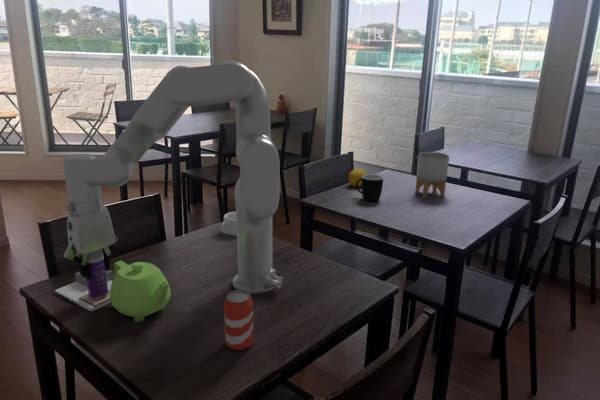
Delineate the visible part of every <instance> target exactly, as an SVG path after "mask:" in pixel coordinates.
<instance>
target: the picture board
mask: <svg viewBox="0 0 600 400" xmlns="http://www.w3.org/2000/svg"><path fill="white" fill-rule="evenodd" d="M105 271H106V270H105ZM74 277H75V281H74V282H72V283H69V284H67V285H65V286H62V287H59V288H57V289H55V290H54V293H55V292H57V293H58V294H57V293H56V294H57V295H59V294H60V295H62V296H64V297H65V298H64V297H63V298H64V299H66V298H67V299H66V300H68V299H69V300H68V301H70V302H72V301H73V302H72V303H74V302H75V303H74V304H76V303H77V304H76V305H78V304H79V305H78V306H80V307H82V308H84V309H86V310H88V311H90V312H91V311H92V312H95V310H98V309H101V308H102V307H104V306H107V305H108V304H111V301H110V289H111V285H112V282H113V280H114V270H111V269H110V270H109V271H106V279H107V286H108V295H107V296H106V297H104V298H101V299H91V298H89V293H88V287H87V280H86V278H85V277H82V276H81V274H80V271H78V272H75V273H74ZM60 295H59V296H60ZM62 296H61V297H62Z"/></svg>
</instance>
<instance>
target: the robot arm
mask: <svg viewBox="0 0 600 400" xmlns="http://www.w3.org/2000/svg"><path fill="white" fill-rule="evenodd" d="M230 102H231V103H232V102H233V105H234V108H235V109H234V110H235V122H236V146H235V155H236V159H237V162H238V164H239V178H238V179H237V181H236V182H235V186H234V202H235V212H236V219H237V236H236V250H237V251H236V252H237V274H236V275H234V276H233V278H232V286H233V288H234V289H235V290H244V291H246V292H248V293H249V294H250V295H251V294H252V295H257V294H264V293H267V292H270V291H273V290H274V289H275V288H276V289H280V288H281V287H282V284H283V283H282V282H283V280H284V278H283V277H282V276H278V275H277V272H276V271H277V270H276V268H273V266H274V265H273V228H274V227H273V215H274V214H275V213H276V211H277V210H278V207H279V202H280V186H281V185H280V184H281V183H280V179H281V177H280V176H281V174H280V173H281V172H280V171H281V170H280V168H281V163H280V156H279V151H278V149H277V146H275V144H274V143H273V140H272V133H271V131H272V130H271V109H270V101H269V97H268V93H267V91H266V88H265V85H264V84H263V83H262V81H261V79H260V78H259V77H258V75H257V74H255V73H254V72H253V71H252V70H251V69H250V68H249V67H247V66H246V65H245V64H243V63H241V62H239V61H237V60H233V59H227V60H223V61H222V62H220V63H219V64H218V63H217V64H212V65H210V64H209V65H202V66H193V67H192V66H185V65H177V66H174V67H173V68H171V69H170V70H169V71H167V73H166V74H165V75H164V76H163V78H162V79H161V81H159V83H158V84H157V85H156V87H155V89H153V90H152V92H151V93H150V95H149V96H147V98H146V99H145V100H144V102H143V103H142V104H141V105H140V107H139V108H138V109H137V110H136V112H135V114H134V115H133V116H132V117H131V119H130V121H129V122H128V124H127V125H126V127H125V128H124V129H123V130H122V132H121V133H120V134H119V135H118V137H117V138H116V139H115V141H114V142H113V143H112V144H111V146H110V147H109V148H108V149H107V150H106V152H105V153H104V155H102V156H101V157H96V156H95V155H93V154H91V153H75V154H70V155H68V156H65V157H64V159H63V162H62V164H63V165H62V167H63V174H64V180H65V185H66V186H65V187H66V193H67V200H68V201H67V204H68V205H66V206H64V211H65V212H66V213H67V224H66V225H67V226H66V230H67V242H68V246H67V247H66V249H65V252H64V253H63V257H64V258H65V259H68V260H70V261H73V262H75V263H77V264H78V268H79V272H80V274H81V276H82V277H85V278H87V279H90V278H91V273H90V266H89V264H88V263H87V255H88V254H89V253H92V252H95V251H98V250H100V249H102V250H103V256H104V263H105V270H106V271H109V270H111V268H110V267H111V265H110V264H111V261H110V255H111V253H112V252H111V251H112V250H113V249H114V247H115V244H116V243H117V242H118V240H119V236H118V235H116V234H115V231H114V225H113V221H112V218H111V215H110V213H109V210H108V208H107V207H106V206H104V201H103V195H102V194H103V193H102V187H104V188H105V187H106V188H118V187H122V186H124V185H125V184H127V183H128V182H129V180H130V179H131V176H132V173H133V169H134V168H135V167H136V165H137V164H138V162H140V160H141V159H142V157H143V156H144V155H145V154H146V152H147V151H148V150H149V149H150V148H151V147H152V146H153V145H154V144H155V143H156V142H158V141H159V140H162V139H163V138H164V137H165V136H166V135H167V134H168V133H169V132H170V131H171V130H172V128H173V127H174V126H175V125H176V124H177V122H178V121H179V119H181V117H183V115H184V114H185V112H186V111H187V110H188V109H189V107H191V108H192V107H197V106H198V107H201V106H209V105H215V104H223V103H230ZM68 212H69V213H68ZM74 252H76V255H75V254H74Z"/></svg>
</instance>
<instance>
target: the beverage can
mask: <svg viewBox="0 0 600 400" xmlns="http://www.w3.org/2000/svg"><path fill="white" fill-rule="evenodd" d="M223 315H224V316H223V319H224V321H223V323H224V337H225V338H224V341H225V346H226V347H228V348H230V349H231V350H235V351H236V350H237V351H242V350H245V349H247V348H250V347H251V346H252V344H253V343H254V340H255V338H254V335H255V334H254V301H253V299H252V297H251V294H249V293H248V292H246V291H244V290H237V289H235V290H233V291H229V292H228V293H227V294H226V295H225V299H224V300H223Z"/></svg>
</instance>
